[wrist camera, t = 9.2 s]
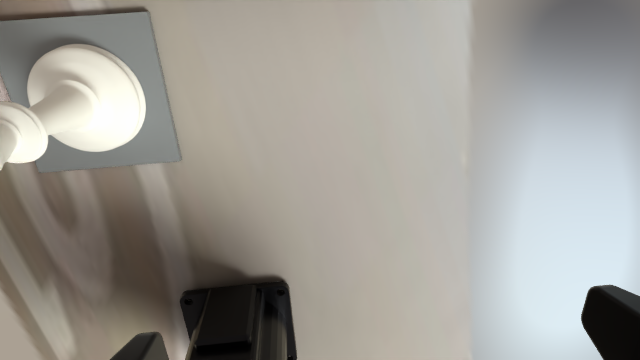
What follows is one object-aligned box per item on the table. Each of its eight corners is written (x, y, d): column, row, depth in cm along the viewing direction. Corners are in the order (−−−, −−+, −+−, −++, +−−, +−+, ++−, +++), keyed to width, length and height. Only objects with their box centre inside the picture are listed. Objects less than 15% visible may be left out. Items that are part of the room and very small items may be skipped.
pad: (181, 159, 20) (180, 161, 19) (42, 170, 19) (39, 173, 19) (149, 11, 17) (146, 11, 17) (-15, 22, 16) (-20, 22, 16)
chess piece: (163, 133, 19) (44, 246, 10) (70, 160, 19) (-135, 296, 10) (115, 30, 17) (-92, 47, 8) (11, 61, 17) (-315, 115, 8)
